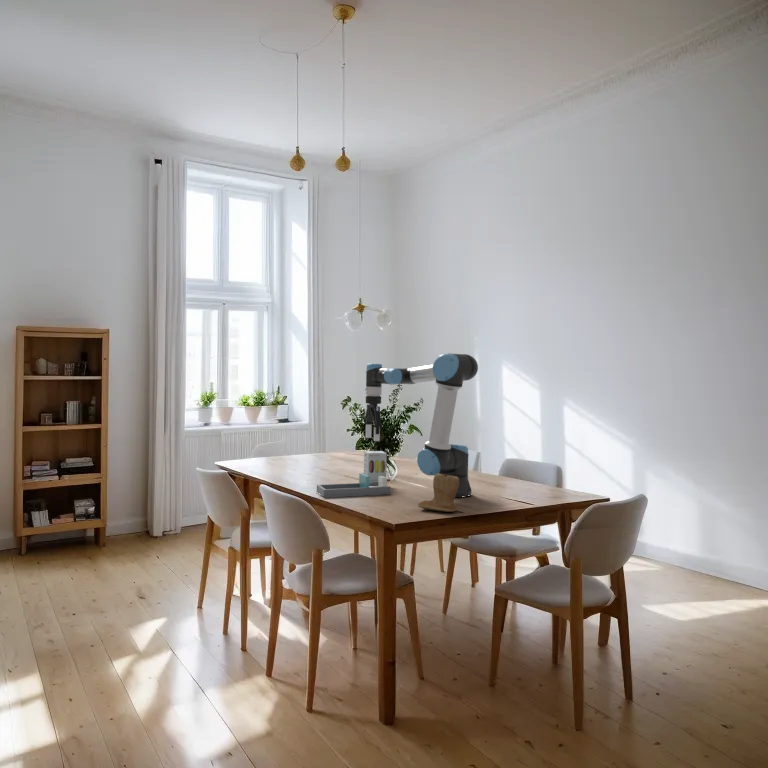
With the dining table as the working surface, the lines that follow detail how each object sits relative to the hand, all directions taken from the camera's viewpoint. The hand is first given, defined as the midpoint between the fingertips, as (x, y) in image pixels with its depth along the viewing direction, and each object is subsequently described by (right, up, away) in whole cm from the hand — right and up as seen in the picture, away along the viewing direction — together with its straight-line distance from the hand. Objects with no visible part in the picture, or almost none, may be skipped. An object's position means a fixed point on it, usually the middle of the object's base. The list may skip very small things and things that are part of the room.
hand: (372, 439), depth 329 cm
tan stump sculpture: (+29, -25, -54) cm, 66 cm away
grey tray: (-9, -23, -19) cm, 31 cm away
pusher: (+1, -22, -15) cm, 27 cm away
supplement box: (+1, -23, +2) cm, 23 cm away
